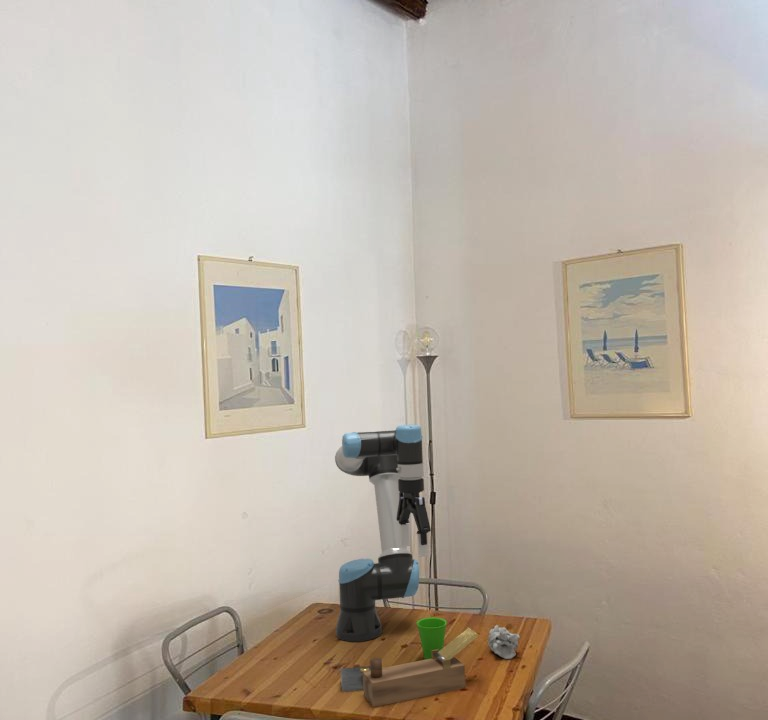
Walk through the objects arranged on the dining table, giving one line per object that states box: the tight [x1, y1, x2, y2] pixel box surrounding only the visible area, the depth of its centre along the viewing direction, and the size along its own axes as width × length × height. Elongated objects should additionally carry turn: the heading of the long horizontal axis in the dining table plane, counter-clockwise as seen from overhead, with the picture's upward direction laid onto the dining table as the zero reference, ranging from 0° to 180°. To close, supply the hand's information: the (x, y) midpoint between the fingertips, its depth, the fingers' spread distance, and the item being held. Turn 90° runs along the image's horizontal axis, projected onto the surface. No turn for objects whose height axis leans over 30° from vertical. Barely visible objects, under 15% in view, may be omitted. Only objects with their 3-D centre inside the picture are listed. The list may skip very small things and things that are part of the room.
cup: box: [415, 616, 448, 660], centre depth 210 cm, size 9×9×11 cm
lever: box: [434, 627, 479, 663], centre depth 194 cm, size 6×1×12 cm
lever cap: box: [340, 665, 371, 692], centre depth 195 cm, size 6×10×5 cm, turn 97°
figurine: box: [487, 624, 521, 660], centre depth 213 cm, size 8×10×12 cm
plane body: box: [362, 649, 466, 708], centre depth 190 cm, size 8×26×10 cm, turn 110°
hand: (414, 551), depth 208 cm, fingers open, 13 cm apart
